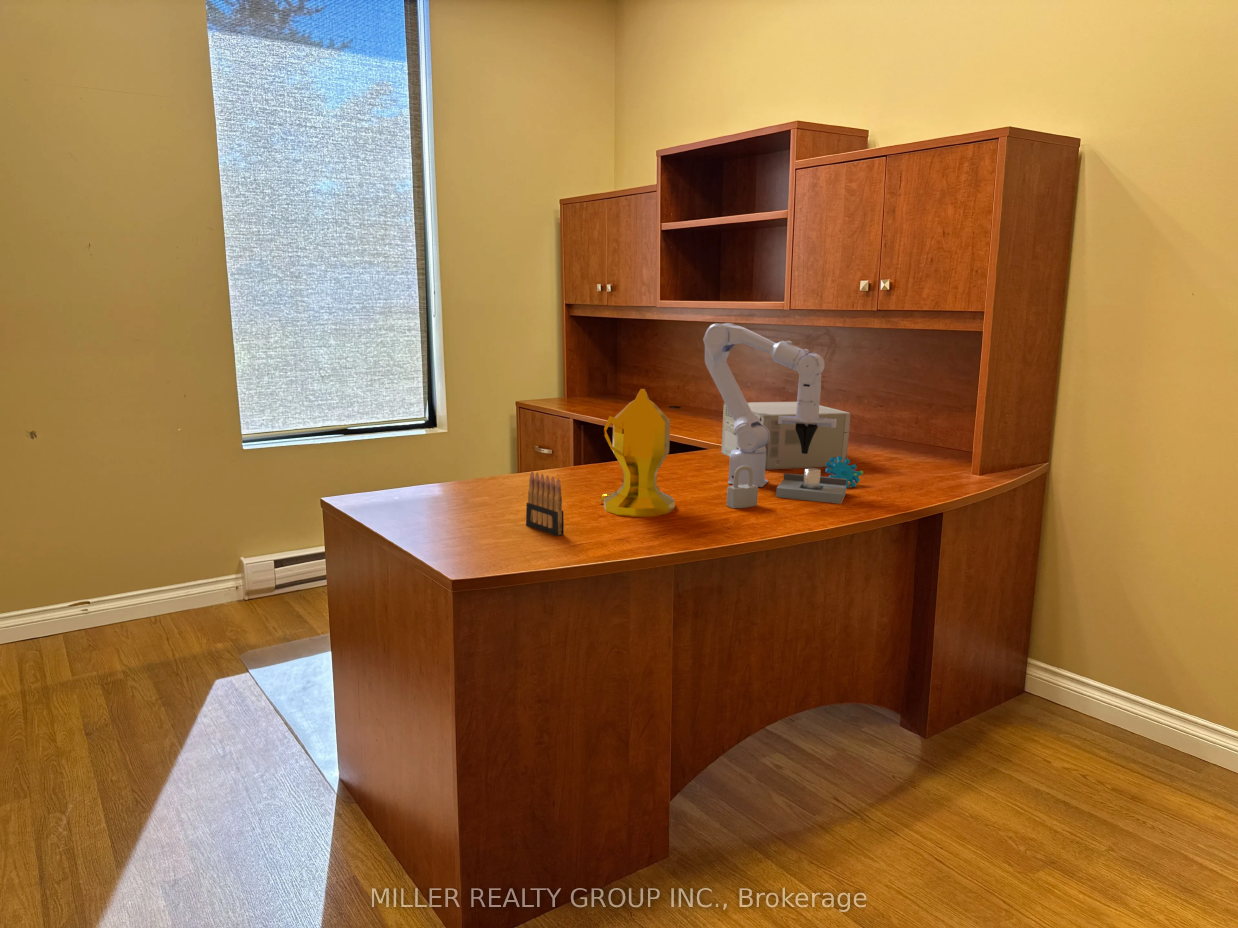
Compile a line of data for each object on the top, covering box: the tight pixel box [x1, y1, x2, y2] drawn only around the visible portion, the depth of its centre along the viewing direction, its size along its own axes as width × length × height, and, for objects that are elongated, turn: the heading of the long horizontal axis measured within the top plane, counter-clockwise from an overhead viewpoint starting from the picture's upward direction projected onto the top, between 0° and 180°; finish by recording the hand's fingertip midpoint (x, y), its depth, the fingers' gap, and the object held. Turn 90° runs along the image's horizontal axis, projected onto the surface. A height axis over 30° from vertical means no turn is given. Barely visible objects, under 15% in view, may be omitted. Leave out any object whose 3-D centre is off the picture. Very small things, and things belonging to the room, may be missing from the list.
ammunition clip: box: [525, 470, 565, 537], centre depth 179 cm, size 11×2×12 cm, turn 43°
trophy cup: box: [598, 388, 676, 518], centre depth 198 cm, size 18×24×28 cm
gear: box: [825, 456, 864, 489], centre depth 231 cm, size 11×6×10 cm
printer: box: [720, 401, 851, 471], centre depth 263 cm, size 27×29×16 cm
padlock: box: [726, 465, 759, 509], centre depth 204 cm, size 7×4×10 cm, turn 118°
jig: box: [775, 472, 847, 505], centre depth 217 cm, size 16×12×4 cm
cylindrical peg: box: [803, 468, 822, 490], centre depth 216 cm, size 4×4×7 cm
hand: (804, 453), depth 221 cm, fingers closed
